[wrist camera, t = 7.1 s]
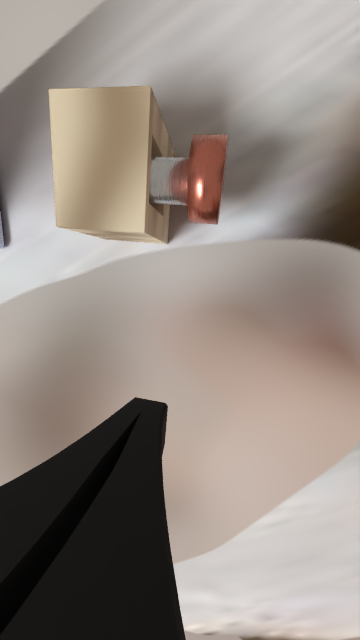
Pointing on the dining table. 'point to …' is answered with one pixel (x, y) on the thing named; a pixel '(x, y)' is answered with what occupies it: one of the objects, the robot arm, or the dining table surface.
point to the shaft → (192, 178)
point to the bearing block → (108, 162)
